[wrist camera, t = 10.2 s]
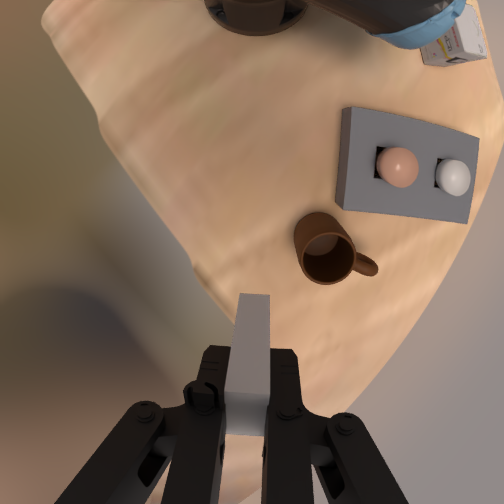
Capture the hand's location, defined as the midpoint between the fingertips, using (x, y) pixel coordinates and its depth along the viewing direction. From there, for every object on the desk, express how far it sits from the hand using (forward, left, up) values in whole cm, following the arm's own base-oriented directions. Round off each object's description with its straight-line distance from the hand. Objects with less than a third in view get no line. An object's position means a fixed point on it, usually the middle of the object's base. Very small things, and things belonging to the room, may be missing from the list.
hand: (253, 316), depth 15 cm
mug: (+6, +11, -31) cm, 33 cm away
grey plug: (-7, +27, -30) cm, 41 cm away
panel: (-7, +22, -30) cm, 38 cm away
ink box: (-29, +26, -31) cm, 50 cm away
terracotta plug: (-7, +17, -29) cm, 34 cm away
